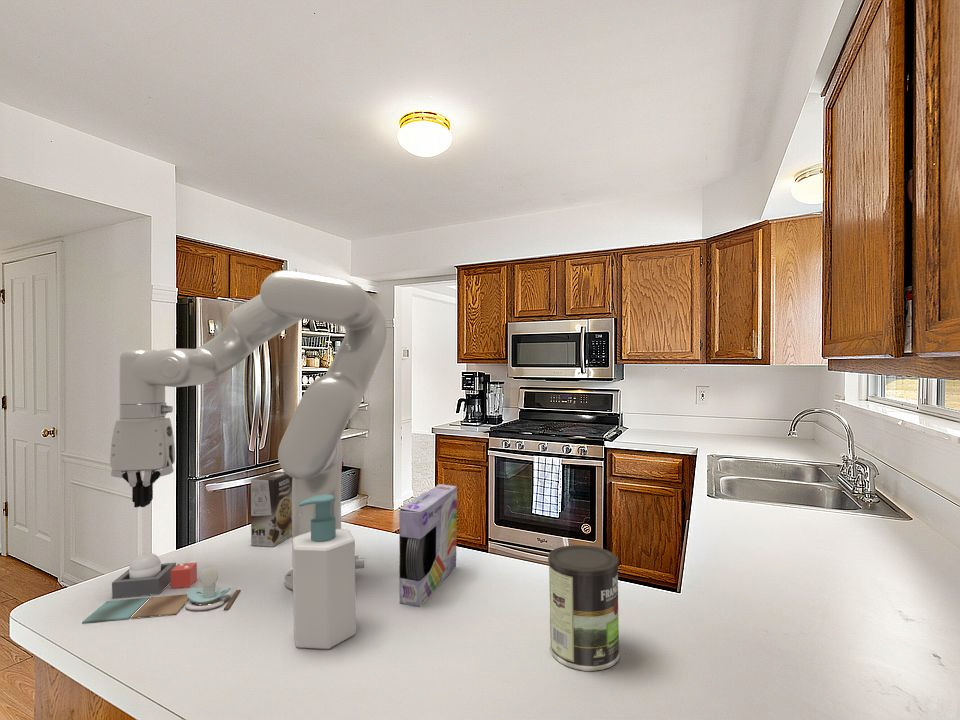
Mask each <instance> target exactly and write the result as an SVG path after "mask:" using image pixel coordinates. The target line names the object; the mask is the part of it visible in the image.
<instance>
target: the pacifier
mask: <svg viewBox="0 0 960 720" xmlns="http://www.w3.org/2000/svg"><path fill="white" fill-rule="evenodd" d="M218 572H219V571H218V570H217V569H216V568H215V567H211V566H209V567H206V568H205V569H203V570H202V572H201V573H200V583H201V585H202V588H190V589H188V590H187V593H186V594H187V597H188V598H189V601H188V602H187V603H186V604H185V608H186V609H187V610H190V611H207V610H211V609H216V608H218V607H221V605H223V604H224V602H225V600H224V599H223V598H221V597H223V596H224V595H225V594H227V593H228V592H230V591H231V586H227V587H225V588H223V589H220V590H217V591H216V589H217V588H216V582H217V581H218V577H219V573H218ZM193 604H194V605H193ZM196 604H197V605H196ZM199 604H201V605H199ZM208 604H211V605H208Z"/></svg>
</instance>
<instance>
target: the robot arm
mask: <svg viewBox="0 0 960 720" xmlns="http://www.w3.org/2000/svg"><path fill="white" fill-rule="evenodd" d="M303 319H304V320H309V321H316V322H322V323H327V324H333V325H337V326H341V327H343V328H344V330H345V334H344V338H343V339H342V341H341V343H340V345H339V346H338V348H337V350H336V353H335V354H334V357H333V360H332V362H331V364H330V366H329V368H328V370H327V371H326V373H325V375H322V376H320V377H318V378H317V379H315V380H314V381H312V382H311V383H310V384H309V385H308V387H307V388H306V390H305V391H304V392H303V394H302V396H301V398H300V400H299V402H298V404H297V407H296V408H295V411H294V413H293V415H292V417H291V419H290V421H289V423H288V426H287V428H286V431H285V432H284V434H283V436H282V438H281V441H280V443H279V446H278V451H277V457H278V464H279V467H280V468H281V469H282V472H285V473H286V474H287V475H289V476H290V477H292V478H293V479H292V536H291V539H293V538H294V537H296V536H299V535H302V534H305V533H309V532H311V519H313V518H315V517H316V504H309V505H305V506H299V503H300V502H302V501H303V500H306V499H309V498H311V497H314V496H318V495H325V494H326V495H333V496H334V497H335V500H334V501H332V502H330V516H334V517H335V521H336V529H342V467H343V465H342V464H343V453H344V451H343V441H342V436H343V434H344V431H345V429H346V427H347V425H348V424H349V422H350V421H349V420H350V419H351V418H352V417H353V416H354V415H355V414H356V413H357V412H358V411H359V408H360V407H361V403H362V401H363V398H364V396H365V393H366V391H367V389H368V386H369V385H370V382H371V380H372V379H373V376H374V373H375V371H376V368H377V366H378V364H379V362H380V359H381V358H382V354H383V352H384V349H385V346H386V342H387V336H388V335H387V334H388V332H387V331H388V330H387V323H386V319H385V317H384V313H383V312H382V310H381V309H380V307H379V306H378V304H377V303H376V301H375V300H374V299H373V298H372V296H370V294H369V293H368V292H367V291H366V290H364V288H362V287H361V286H360V285H358V284H357V283H354V282H353V281H349V280H345V279H339V278H333V277H327V276H322V275H315V274H311V273H306V272H305V273H304V272H301V271H300V272H299V271H295V270H288V269H287V270H286V269H285V270H282V269H281V270H278V271H274V272H272V273H270V274H269V275H268V276H267V277H266V278H264V280H263V282H262V284H261V286H260V292H259V294H257V295H256V296H253V298H251V299H249V300H248V301H246V302H244V303H243V304H241V305H240V306H238V307H236V308H234V309H233V310H232V311H230V313H229V315H228V320H227V325H226V326H225V327H224V328H223V330H222V331H221V332H220V333H218V334H217V335H215V337H212V339H210V340H208V341H207V342H204V343H203V344H202V345H200V346H198V347H197V348H166V349H160V350H156V349H126V350H124V351H123V352H121V354H120V356H119V419H117V420H115V423H114V427H113V431H112V436H111V443H110V455H109V459H110V468H111V472H110V475H111V477H114V478H119V479H124V480H125V481H126V482H127V484H129V487H131V488H132V490H131V491H132V493H131V494H132V495H131V498H132V500H131V501H132V503H133V504H134V505H133V506H134V508H139V507H140V508H145V507H146V506H148V505H150V504H151V503H152V501H153V499H154V498H153V497H154V484H155V483H156V482H157V480H158V479H159V478H161V477H165V476H168V475H171V474H173V473H174V468H173V465H174V464H175V462H176V447H175V446H176V445H175V437H174V436H175V435H174V431H173V425H172V422H171V418H170V417H166V416H167V414H169V413H173V412H174V410H173V409H174V408H173V406H172V405H167V402H166V387H170V388H181V387H182V388H183V387H189V386H201V385H205V384H207V383H210V382H212V381H213V380H215V379H216V378H219V377H220V376H221V375H224V374H225V373H227V372H228V371H229V370H231V369H233V368H234V367H236V366H238V364H240V363H241V362H243V360H245V359H247V357H248V356H249V355H251V354H252V353H253V352H254V351H255V350H256V349H258V348H259V347H260V346H262V345H263V344H264V343H266V342H269V340H271V339H273V338H274V337H276V336H277V335H279V334H280V333H283V332H284V331H286V330H287V329H288V328H290V327H292V326H294V325H295V324H297V323H298V322H300V321H301V320H303ZM143 471H144V473H143V474H144V475H142V472H143ZM291 541H292V540H291ZM291 543H292V551H291V552H292V555H291V556H292V559H293V541H292V542H291ZM359 556H360V555H355V570H356V569H364V568H365V558H364V557H359ZM284 585H285V587H286V588H288V589H289V590H292V591H293V568H292V569H290V570H289V571H288V572H287V573H286V574H285V576H284Z"/></svg>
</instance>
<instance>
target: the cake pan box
mask: <svg viewBox="0 0 960 720" xmlns="http://www.w3.org/2000/svg"><path fill="white" fill-rule="evenodd" d="M398 511H399V512H398V513H399V514H398V516H399V523H398V525H399V531H398V532H399V556H398V557H399V561H398V562H399V563H398V564H399V565H398V566H399V567H398V568H399V569H398V570H399V571H398V572H399V573H398V575H399V576H398V580H399V581H398V582H399V583H398V584H399V591H398V592H399V601H398V602H399V604H401V605H405V606H412V607H419V608H420V607H422V606H423V605H424V603H425V602H427V600H428V599H429V597H430V596H431V595H433V593H434V592H435V591H436V590H437V589H438V588H439V586H440V585H441V584H442V583H443V582H444V580H446V578H448V576H449V575H450V574H451V573H452V572H453V571H454V569H455V568H456V567H457V516H458V514H457V513H458V486H457V485H449V484H443V483H442V484H441V483H440V484H439V483H438V484H436V486H435V487H432V488H431V489H430V490H428V491H426V492H425V491H424V492H423V493H421V494H420V495H418V496H417V497H416V498H415V499H413V500H411V501H409V502H408V503H407V504H405V505H403V506H402V507H400V508H399V510H398Z"/></svg>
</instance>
